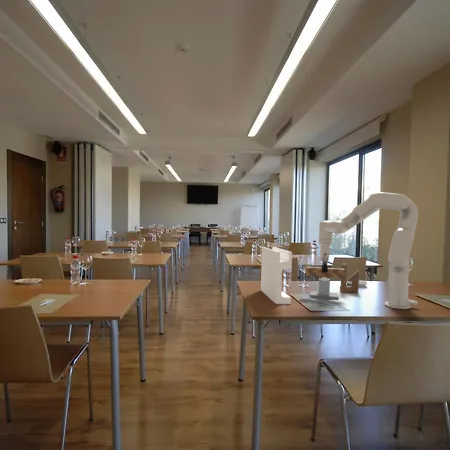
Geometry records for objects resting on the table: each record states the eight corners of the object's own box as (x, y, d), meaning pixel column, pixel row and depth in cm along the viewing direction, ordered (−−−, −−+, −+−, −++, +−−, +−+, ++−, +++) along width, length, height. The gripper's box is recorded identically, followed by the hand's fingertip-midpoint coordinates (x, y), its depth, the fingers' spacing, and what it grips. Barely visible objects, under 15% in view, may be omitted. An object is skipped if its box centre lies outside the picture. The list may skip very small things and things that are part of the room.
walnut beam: (343, 277, 204) (343, 268, 204) (344, 278, 200) (344, 269, 200) (305, 274, 209) (305, 266, 209) (305, 275, 205) (305, 267, 205)
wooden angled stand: (358, 293, 216) (359, 264, 216) (340, 292, 218) (341, 264, 218) (357, 292, 220) (357, 264, 220) (339, 291, 222) (340, 263, 221)
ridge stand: (337, 295, 209) (337, 275, 208) (338, 299, 197) (339, 278, 197) (310, 293, 213) (310, 274, 212) (309, 297, 201) (310, 277, 201)
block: (260, 290, 218) (262, 246, 218) (273, 290, 219) (274, 246, 219) (276, 304, 183) (277, 252, 183) (290, 303, 185) (292, 252, 184)
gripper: (318, 240, 214) (317, 269, 214) (319, 242, 197) (318, 273, 197) (331, 241, 212) (330, 269, 212) (332, 242, 195) (331, 274, 195)
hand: (324, 271), depth 204 cm, fingers open, 6 cm apart
